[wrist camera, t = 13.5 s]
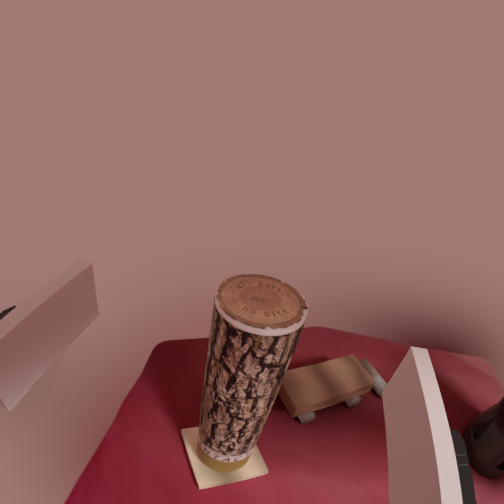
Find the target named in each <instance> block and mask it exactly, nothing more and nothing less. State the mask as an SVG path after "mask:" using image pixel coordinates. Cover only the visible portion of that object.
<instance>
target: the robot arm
mask: <svg viewBox="0 0 504 504" xmlns="http://www.w3.org/2000/svg"><path fill="white" fill-rule="evenodd" d="M98 315H99V313H98V307H97V299H96V292H95V284H94V276H93V266H92V263H90V262H87V261H84V260H81V259H78V260H77V261H76V262H74V263H73V264H71V265H70V266H69V267H67V268H66V269H65V270H63V271H62V272H61V273H59V274H58V275H56V276H55V277H54V278H53V279H51V280H50V281H48V282H47V283H46V284H45V285H43V286H42V287H41V288H39V289H38V290H37V291H35V292H34V293H33V294H32V295H30V296H29V297H28V298H27V299H25V300H24V301H23V302H22V303H20V304H19V305H18V306H17V307H16V306H13V307H11V308H9V309H6V310H4V311H3V312H2V313H0V404H1V405H2V406H3V407H4V408H5V409H6V410H8V411H9V412H11V411H12V410H13V408H14V407H15V406H16V405H17V404H18V402H19V401H20V400H21V399H22V398H23V397H24V395H25V394H26V393H27V392H28V390H30V388H31V387H32V386H33V385H34V384H35V383H36V382H37V380H38V379H39V378H40V377H41V376H42V374H44V372H45V371H46V370H47V369H48V368H49V367H50V366H51V365H52V364H53V362H54V361H55V360H56V359H57V358H58V357H59V356H60V355H61V354H62V353H63V352H64V351H65V350H66V348H67V347H68V346H69V345H70V344H71V343H72V342H73V341H74V340H75V339H76V338H77V337H78V336H79V335H80V334H81V333H82V331H83V330H84V329H85V328H86V327H87V326H88V325H89V324H90V323H91V322H92V321H93V320H94V319H95V318H96V317H97V316H98ZM382 399H383V408H384V417H385V428H386V440H387V455H388V475H389V504H477V503H476V499H475V493H474V486H473V480H472V475H471V469H470V466H469V462H470V463H471V465H472V466H473V467H474V468H475V469H476V470H477V471H478V472H479V473H480V474H482V475H484V476H486V477H489V478H499V477H502V476H504V397H503V398H502V399H501V401H500V402H498V403H497V404H495V405H493V406H492V407H490V408H488V409H487V410H485V411H483V412H482V413H480V414H478V415H477V416H476V417H475V418H474V419H473V420H472V421H471V422H470V423H469V424H468V425H467V427H466V429H465V432H464V437H463V438H462V436H461V435H460V433H459V431H458V430H450V428H449V424H448V420H447V416H446V412H445V408H444V404H443V400H442V397H441V393H440V390H439V386H438V383H437V379H436V376H435V373H434V370H433V366H432V363H431V360H430V357H429V354H428V351H427V349H423V348H417V347H410V349H409V351H408V352H407V354H406V356H405V357H404V359H403V360H402V362H401V364H400V365H399V367H398V368H397V370H396V372H395V373H394V375H393V376H392V378H391V379H390V381H389V382H388V384H387V385H386V387H385V388H384V390H383V391H382Z"/></svg>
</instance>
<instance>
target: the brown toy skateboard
mask: <svg viewBox="0 0 504 504" xmlns="http://www.w3.org/2000/svg"><path fill="white" fill-rule="evenodd" d="M386 385H387V383H386V382H385V381H384V380H383V378H382V377H381V376H380V375H379V374H378V372H377V371H376V370H375V369H374V368H373V366H372V365H371V364H370V363H369V362H368V361H367V359H363V360H361V361H360V362H359V361H358V360H357V359H356V358H355V356H354V355H353V354H352V355H349V356H345V357H341V358H337V359H334V360H330V361H326V362H322V363H317V364H313V365H309V366H305V367H300V368H296V369H291V370H287V371H286V374H285V376H284V379H283V382H282V384H281V386H280V389H279V391H278V394H279V396H280V398H281V399H282V401H283V403H284V405H285V407H286V408H287V410H288V412H289V414H290V416H291V417H292V418H293V417H297V416H298V418H299V420H300V421H301V423H302V424H306V423H309V422H311V421H312V420H313V419H315V417H316V415H315V413H314V411H316V410H320V409H323V408H326V407H329V406H332V405H335V404H337V403H340V402H343V401H345V403H346V404H347V406H348V407H349V408H352V407H354V406H356V405H357V404H358V403H359V402H360V401H361V398H360V397H359V395H362V394H365V393H367V392H370V390H371V389H372V388H373V389H374V390H375V391H376V393H377V394H378V395H379V396H380V398H382V391H383V390H384V388H385V387H386Z"/></svg>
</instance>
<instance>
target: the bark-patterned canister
mask: <svg viewBox="0 0 504 504" xmlns="http://www.w3.org/2000/svg"><path fill="white" fill-rule="evenodd" d="M307 313H308V304H307V302H306V300H305V298H304V297H303V295H302V294H301V293H300V292H299V291H298V290H296V289H295V288H294V287H292V286H290V285H289V284H287V283H285V282H283V281H280V280H278V279H275V278H272V277H268V276H264V275H256V274H244V275H237V276H233V277H230V278H228V279H226V280H224V281H223V282H222V283H221V284H220V285H219V286H218V288H217V290H216V295H215V300H214V307H213V314H212V322H211V329H210V337H209V344H208V352H207V360H206V368H205V377H204V385H203V394H202V402H201V411H200V421H199V430H198V442H197V452H198V456H199V458H200V459H201V461H202V462H203V463H204V464H205V465H206V466H208V467H209V468H211V469H213V470H216V471H219V472H232V471H235V470H238V469H240V468H241V467H243V466H244V465H245V464H246V463H247V461H248V460H249V457H250V455H251V453H252V451H253V449H254V447H255V445H256V443H257V440H258V438H259V436H260V434H261V431H262V429H263V427H264V425H265V422H266V420H267V418H268V415H269V413H270V411H271V408H272V406H273V404H274V401H275V399H276V396H277V394H278V391H279V389H280V386H281V384H282V382H283V379H284V376H285V374H286V371H287V369H288V366H289V364H290V361H291V359H292V356H293V353H294V351H295V348H296V345H297V343H298V340H299V337H300V335H301V332H302V329H303V326H304V323H305V321H306V317H307Z"/></svg>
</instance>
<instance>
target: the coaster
mask: <svg viewBox="0 0 504 504" xmlns="http://www.w3.org/2000/svg"><path fill="white" fill-rule="evenodd" d="M198 430H199V427H193V428H186V429H181V434H182V438H183V441H184V445H185V448H186V451H187V455H188V458H189V461H190V464H191V467H192V470H193V473H194V476H195V479H196V482H197V485H198V488H199V489H204V488H210V487H215V486H220V485H225V484H229V483H234V482H238V481H242V480H246V479H250V478H254V477H257V476H261V475H265V474H267V473H268V472H269V471H268V469H267V467H266V465H265V463H264V460H263V458H262V456H261V454H260V452H259V450H258V448H257V446H256V445H255V447H254V449H253V451H252V453H251V455H250V457H249V460H248V461H247V463H246V464H245V465H244V466H243V467H241V468H240V469H238V470H235V471H232V472H219V471H216V470H213V469H211V468H209V467H208V466H206V465H205V464H204V463H203V462H202V461H201V459H200V458H199V456H198V452H197V442H198Z"/></svg>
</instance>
